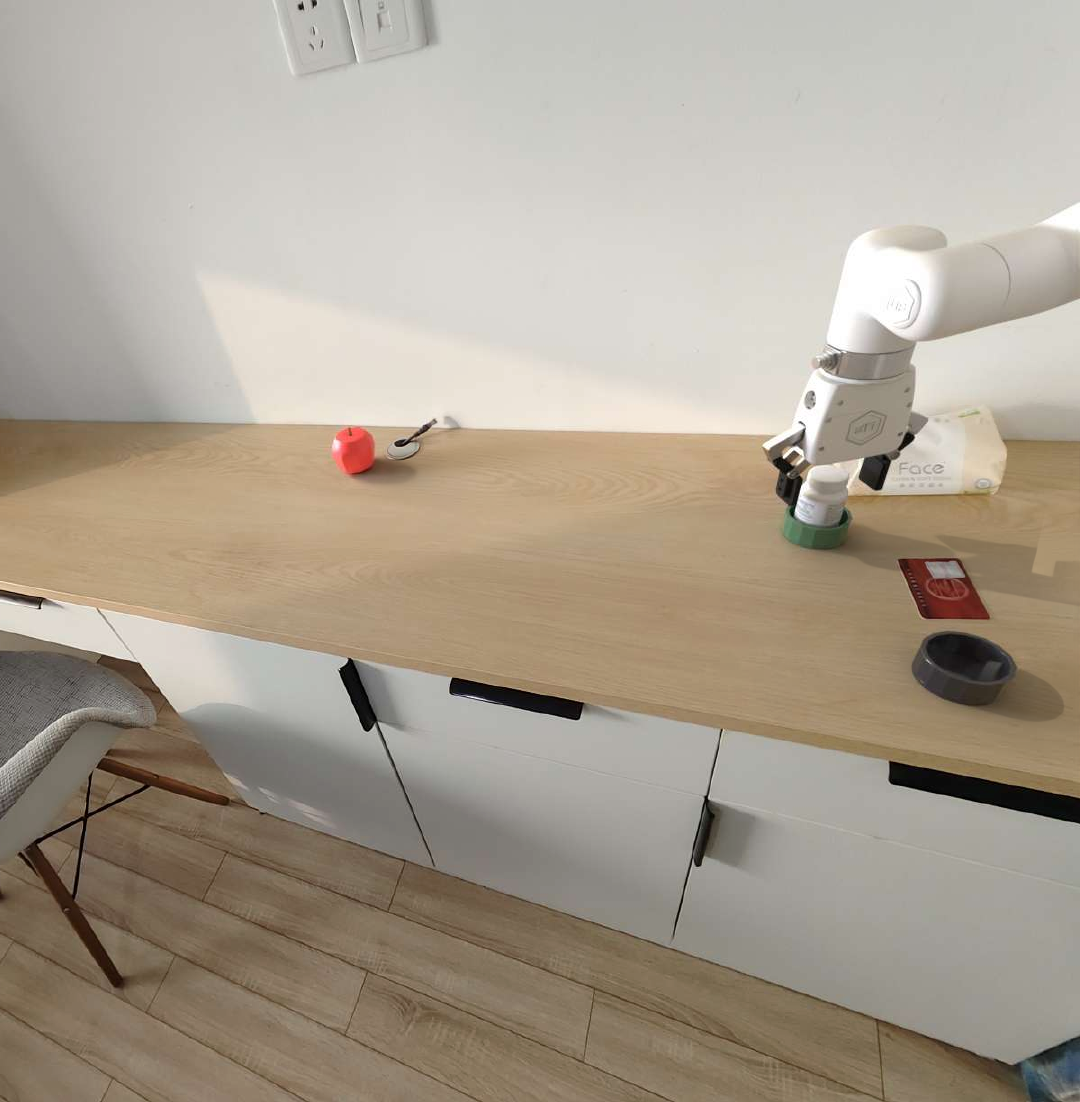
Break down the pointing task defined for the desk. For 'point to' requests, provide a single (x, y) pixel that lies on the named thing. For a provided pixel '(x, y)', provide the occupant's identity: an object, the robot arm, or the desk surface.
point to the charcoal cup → (963, 668)
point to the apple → (353, 450)
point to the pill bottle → (822, 497)
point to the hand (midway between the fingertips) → (827, 492)
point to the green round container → (814, 531)
